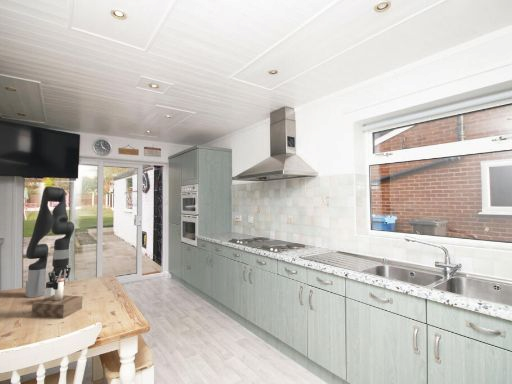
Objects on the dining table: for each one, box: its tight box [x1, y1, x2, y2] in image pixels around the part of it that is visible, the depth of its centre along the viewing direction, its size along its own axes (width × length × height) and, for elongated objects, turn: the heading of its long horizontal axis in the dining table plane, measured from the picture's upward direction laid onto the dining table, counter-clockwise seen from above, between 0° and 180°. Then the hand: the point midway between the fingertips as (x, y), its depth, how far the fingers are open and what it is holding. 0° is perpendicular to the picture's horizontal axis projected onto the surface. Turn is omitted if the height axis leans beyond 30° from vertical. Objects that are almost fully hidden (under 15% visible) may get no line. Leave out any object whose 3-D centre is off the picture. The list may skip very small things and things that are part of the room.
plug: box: [54, 278, 65, 301], centre depth 153 cm, size 4×4×13 cm
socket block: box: [31, 294, 84, 319], centre depth 153 cm, size 18×14×7 cm
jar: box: [43, 280, 55, 299], centre depth 169 cm, size 9×8×12 cm
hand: (58, 288), depth 153 cm, fingers closed on plug, 4 cm apart
